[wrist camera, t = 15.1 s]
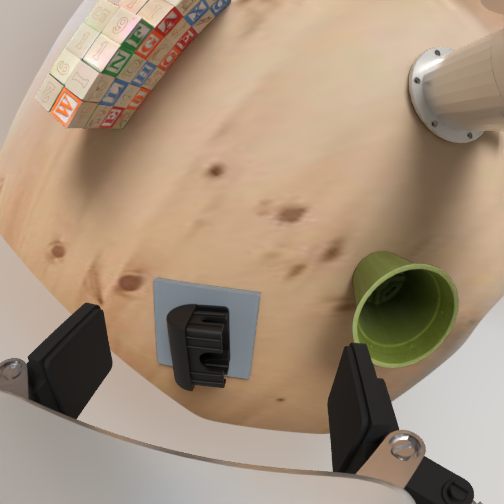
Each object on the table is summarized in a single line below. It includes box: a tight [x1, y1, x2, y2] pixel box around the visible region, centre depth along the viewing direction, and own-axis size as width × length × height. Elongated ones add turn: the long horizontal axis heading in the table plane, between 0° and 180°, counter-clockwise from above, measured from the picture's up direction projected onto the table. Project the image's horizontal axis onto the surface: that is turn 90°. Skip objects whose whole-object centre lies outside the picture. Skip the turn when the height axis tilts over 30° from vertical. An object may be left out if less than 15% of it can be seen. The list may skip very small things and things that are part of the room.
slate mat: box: [153, 278, 261, 379], centre depth 43 cm, size 14×14×1 cm
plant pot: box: [352, 252, 458, 368], centre depth 33 cm, size 12×12×11 cm
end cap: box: [166, 304, 230, 391], centre depth 39 cm, size 10×7×7 cm
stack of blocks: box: [35, 0, 231, 129], centre depth 26 cm, size 21×6×12 cm, turn 139°
